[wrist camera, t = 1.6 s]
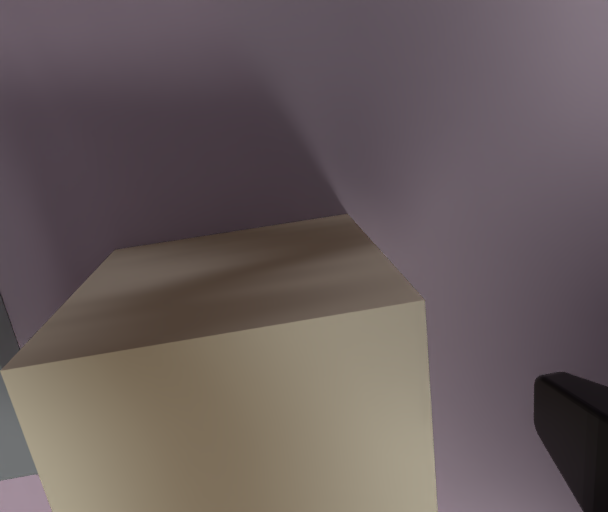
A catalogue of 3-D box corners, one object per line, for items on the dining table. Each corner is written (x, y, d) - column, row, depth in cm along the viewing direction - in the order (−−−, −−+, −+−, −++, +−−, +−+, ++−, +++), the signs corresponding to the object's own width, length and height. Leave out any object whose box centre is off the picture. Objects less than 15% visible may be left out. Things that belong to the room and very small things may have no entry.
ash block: (346, 212, 11) (425, 299, 6) (367, 407, 12) (442, 601, 7) (115, 248, 10) (0, 370, 6) (166, 443, 12) (110, 669, 7)
